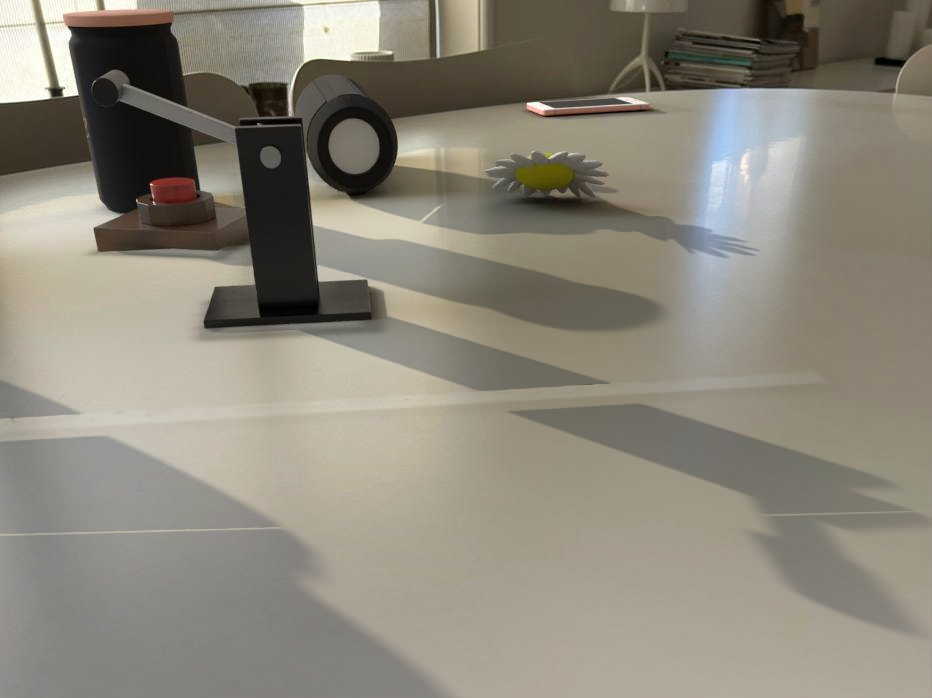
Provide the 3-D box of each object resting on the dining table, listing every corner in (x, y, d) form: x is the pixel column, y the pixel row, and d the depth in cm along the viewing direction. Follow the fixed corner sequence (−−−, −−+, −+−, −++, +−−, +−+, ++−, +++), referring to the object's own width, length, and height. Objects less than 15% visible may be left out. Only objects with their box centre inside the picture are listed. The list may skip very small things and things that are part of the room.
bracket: (205, 337, 76) (173, 134, 69) (216, 301, 84) (188, 115, 76) (372, 328, 77) (357, 128, 70) (368, 294, 85) (355, 110, 77)
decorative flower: (478, 186, 131) (484, 202, 104) (479, 143, 129) (486, 148, 102) (580, 190, 132) (612, 207, 105) (583, 147, 130) (617, 153, 103)
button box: (97, 252, 98) (88, 206, 95) (149, 227, 106) (142, 184, 103) (218, 258, 95) (211, 211, 93) (261, 232, 103) (256, 188, 101)
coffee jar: (146, 192, 121) (114, 8, 111) (222, 199, 117) (195, 9, 107) (79, 211, 113) (37, 15, 103) (157, 219, 109) (122, 16, 99)
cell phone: (650, 109, 169) (650, 103, 168) (543, 116, 165) (543, 109, 164) (628, 103, 176) (628, 96, 176) (525, 109, 172) (525, 102, 172)
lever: (88, 106, 69) (95, 67, 68) (101, 96, 73) (108, 60, 72) (286, 181, 73) (295, 146, 72) (288, 168, 77) (297, 134, 76)
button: (145, 205, 97) (141, 185, 96) (165, 196, 100) (162, 176, 99) (185, 207, 96) (182, 186, 95) (204, 198, 100) (201, 178, 99)
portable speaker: (403, 196, 117) (398, 94, 111) (313, 201, 115) (303, 99, 109) (374, 157, 137) (368, 70, 132) (297, 161, 136) (288, 73, 130)
